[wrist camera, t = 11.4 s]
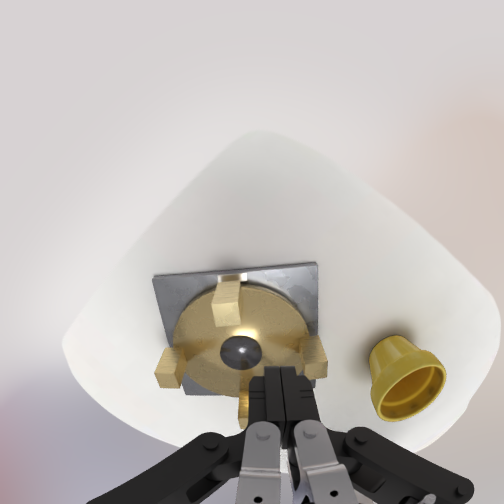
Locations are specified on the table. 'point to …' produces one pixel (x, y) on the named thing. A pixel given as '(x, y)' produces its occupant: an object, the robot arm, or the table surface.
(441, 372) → the plant pot
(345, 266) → the table surface
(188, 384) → the flange plate
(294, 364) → the pegged brass disc
